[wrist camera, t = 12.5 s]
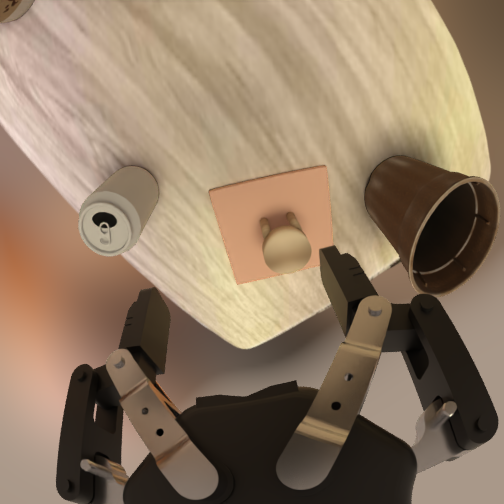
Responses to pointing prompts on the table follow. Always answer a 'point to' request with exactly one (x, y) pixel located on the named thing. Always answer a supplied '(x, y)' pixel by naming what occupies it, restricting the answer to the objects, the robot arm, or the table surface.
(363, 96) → the table surface
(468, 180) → the plant pot
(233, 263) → the mat
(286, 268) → the stool
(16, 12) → the coffee cup
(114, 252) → the can
